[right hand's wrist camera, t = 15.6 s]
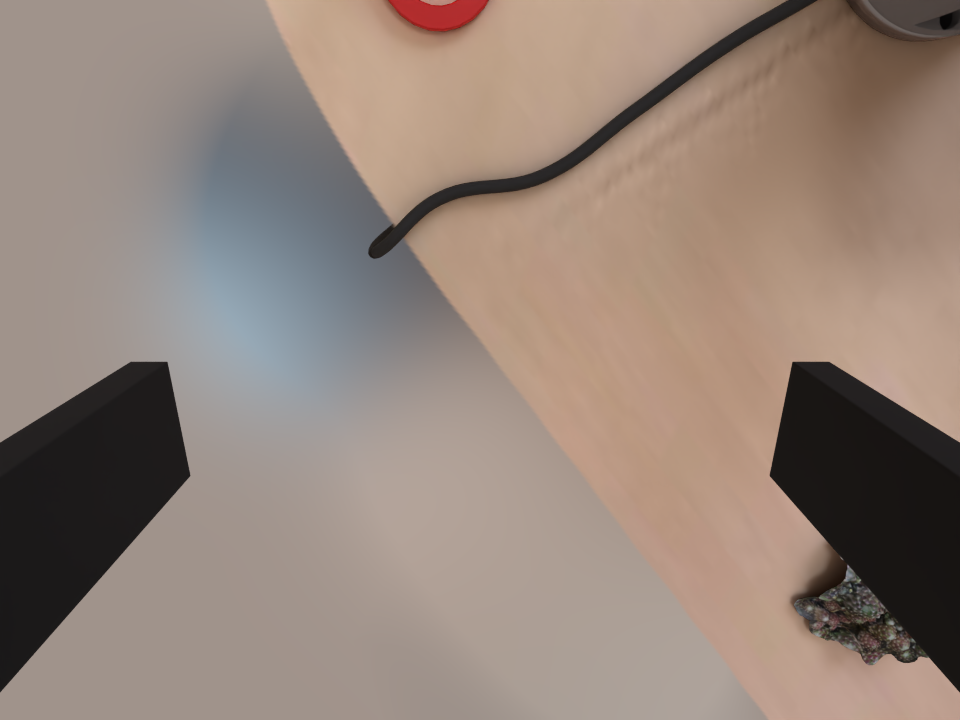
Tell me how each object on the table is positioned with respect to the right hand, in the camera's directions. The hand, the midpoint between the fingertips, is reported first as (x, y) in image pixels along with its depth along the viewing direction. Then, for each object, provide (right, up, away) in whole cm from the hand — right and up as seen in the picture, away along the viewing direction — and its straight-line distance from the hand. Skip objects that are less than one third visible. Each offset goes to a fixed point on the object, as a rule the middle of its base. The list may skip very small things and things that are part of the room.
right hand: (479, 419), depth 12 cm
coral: (+40, -21, +46) cm, 65 cm away
